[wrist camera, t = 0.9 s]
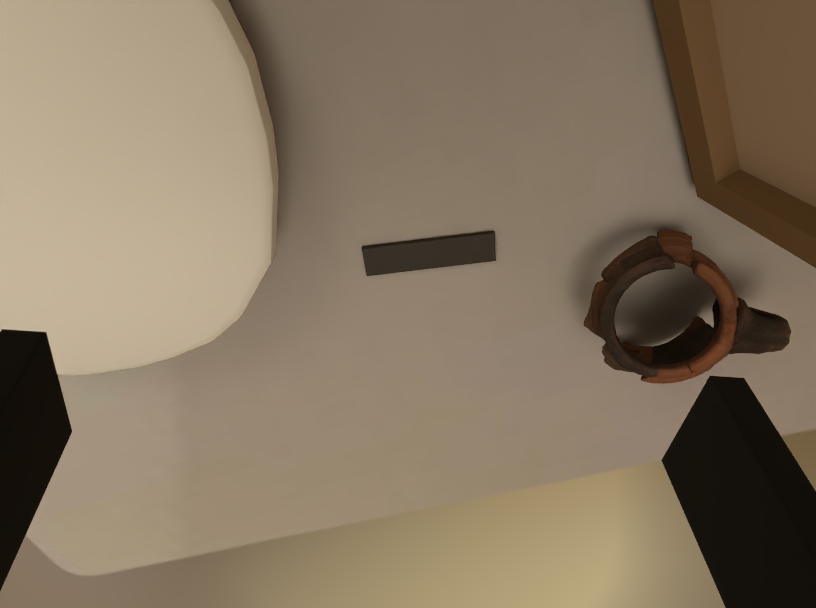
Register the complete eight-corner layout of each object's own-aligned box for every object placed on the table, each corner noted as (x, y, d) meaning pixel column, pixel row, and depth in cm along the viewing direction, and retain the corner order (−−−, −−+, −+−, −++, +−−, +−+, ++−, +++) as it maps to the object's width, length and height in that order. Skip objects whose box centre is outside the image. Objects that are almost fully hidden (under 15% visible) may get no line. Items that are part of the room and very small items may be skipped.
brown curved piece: (576, 356, 47) (580, 391, 39) (587, 222, 45) (593, 231, 37) (760, 371, 45) (804, 413, 37) (780, 230, 43) (830, 242, 35)
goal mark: (361, 246, 40) (362, 249, 40) (494, 230, 40) (494, 233, 40) (366, 273, 41) (366, 276, 41) (495, 258, 41) (495, 260, 41)
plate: (-581, -23, 25) (-21, -412, 20) (-405, -38, 31) (70, -346, 25) (-44, 467, 39) (372, 312, 34) (11, 395, 44) (375, 252, 39)
